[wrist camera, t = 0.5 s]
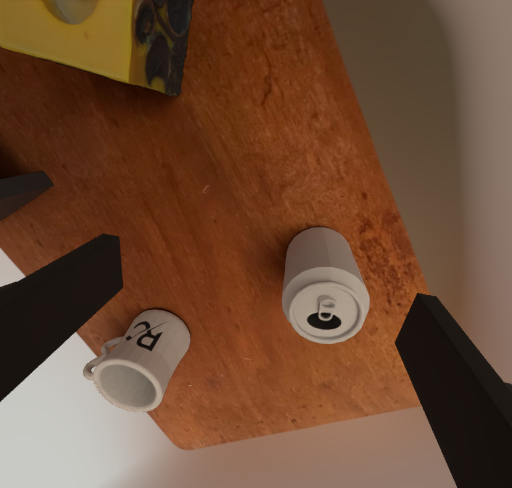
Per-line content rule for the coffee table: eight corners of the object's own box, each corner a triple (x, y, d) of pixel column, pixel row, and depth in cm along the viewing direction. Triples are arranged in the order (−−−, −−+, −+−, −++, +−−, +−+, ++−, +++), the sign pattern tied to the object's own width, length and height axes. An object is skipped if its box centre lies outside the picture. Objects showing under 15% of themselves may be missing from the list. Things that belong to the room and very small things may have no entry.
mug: (186, 307, 40) (152, 361, 31) (197, 355, 43) (169, 416, 34) (109, 305, 42) (56, 356, 33) (125, 351, 45) (82, 408, 36)
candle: (89, 72, 29) (-6, 50, 20) (90, -56, 25) (-30, -158, 16) (182, 100, 29) (128, 91, 20) (199, -24, 25) (140, -108, 16)
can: (284, 276, 36) (277, 345, 25) (289, 221, 32) (284, 272, 22) (344, 283, 35) (364, 357, 24) (355, 227, 32) (384, 282, 21)
